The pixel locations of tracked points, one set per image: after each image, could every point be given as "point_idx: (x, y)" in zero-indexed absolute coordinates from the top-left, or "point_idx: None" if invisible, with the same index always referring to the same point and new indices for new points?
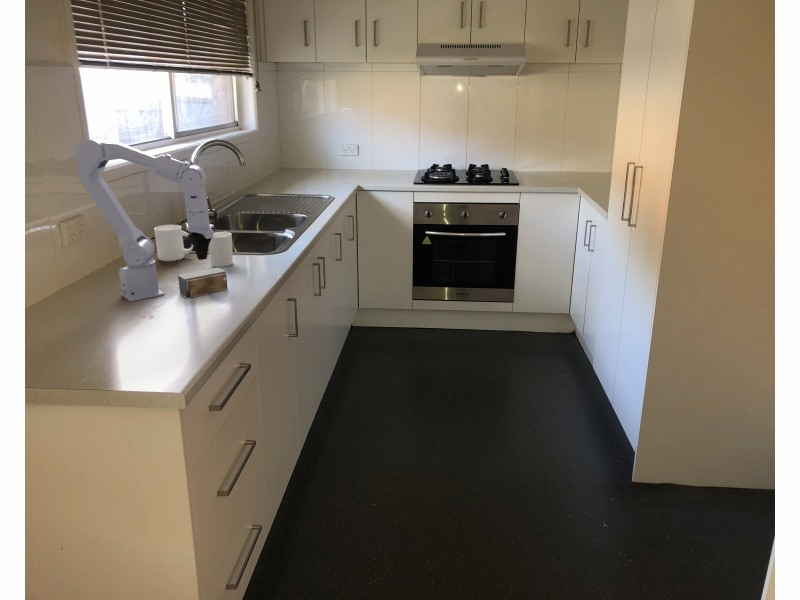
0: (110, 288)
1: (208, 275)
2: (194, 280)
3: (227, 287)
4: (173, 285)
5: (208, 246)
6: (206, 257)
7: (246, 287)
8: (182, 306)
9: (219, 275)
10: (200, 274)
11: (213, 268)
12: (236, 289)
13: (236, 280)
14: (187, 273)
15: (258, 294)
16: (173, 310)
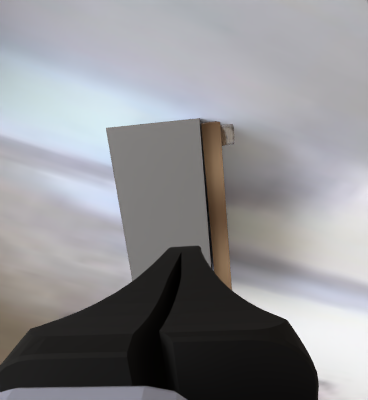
0: None
1: (206, 210)
2: (230, 276)
3: (215, 121)
4: (53, 263)
5: (222, 282)
6: (200, 250)
7: (223, 34)
8: (288, 301)
9: (222, 160)
10: (182, 240)
11: (111, 155)
12: (224, 85)
13: (98, 37)
14: (134, 279)
15: (353, 21)
16: (306, 330)
